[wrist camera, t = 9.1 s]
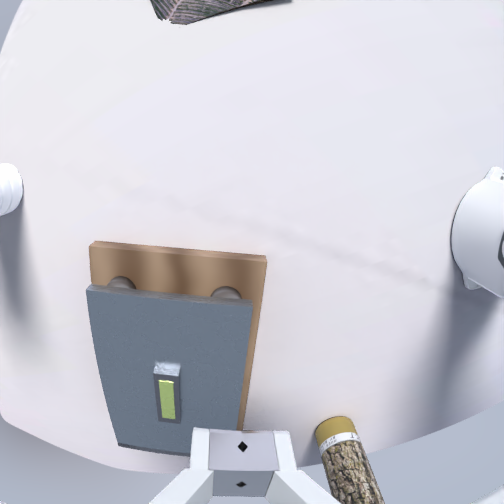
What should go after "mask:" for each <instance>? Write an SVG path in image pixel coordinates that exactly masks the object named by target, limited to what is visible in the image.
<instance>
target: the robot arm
mask: <svg viewBox="0 0 504 504" xmlns="http://www.w3.org/2000/svg"><path fill="white" fill-rule="evenodd" d="M500 178H501V179H500ZM452 251H453V255H454V259H455V261H456V263H457V265H458V266H459V268H460V269H461V271H462V273H463V280H464V285H465V287H466V288H468V289H470V290H474V289H478V288H482V287H483V288H485V289H487V290H488V291H490V292H492V293H493V294H495V295H497V296H498V297H500V298H504V171H503V170H502V169H501V168H499V167H496V166H493V167H492V168H491V169H490V171H489V172H488V174H487V175H486V177H485V178H484V179H483V180H482V181H480V182H479V183H477V184H475V185H474V186H473V187H472V188H471V189H470V190H469V191H468V192H467V193H466V195H465V196H464V198H463V199H462V201H461V203H460V205H459V207H458V210H457V212H456V215H455V219H454V223H453V228H452ZM209 435H210V438H209ZM212 496H248V497H265V498H266V500H267V501H268V502H269V503H270V504H341V503H340V502H339V501H337V500H336V499H335V498H334V497H332V496H331V495H330V494H329V493H328V492H327V491H325V490H324V489H323V488H322V487H321V486H319V485H318V484H317V483H316V482H315V481H314V480H312V478H310V477H309V476H308V475H307V474H306V473H305V472H304V471H303V470H297V466H296V461H295V457H294V452H293V447H292V442H291V438H290V433H289V432H288V431H271V430H270V431H243V430H241V431H232V430H219V429H208V428H196V427H194V428H193V433H192V444H191V456H190V468H184V469H183V470H182V471H181V472H180V473H179V474H178V475H177V477H175V478H174V479H173V480H172V481H171V482H170V484H168V485H167V486H166V487H165V488H164V489H163V490H162V491H161V492H160V493H159V494H158V495H157V496H156V497H155V498H154V499H153V500H152V501H151V502H150V503H148V504H207V503H208V502H209V501H210V499H211V498H212ZM0 504H6V503H4V502H2V501H1V500H0ZM470 504H504V485H502V486H501V487H499V488H498V489H496V490H494V491H492V492H491V493H489V494H487V495H485V496H483V497H482V498H480V499H478V500H476V501H474V502H472V503H470Z"/></svg>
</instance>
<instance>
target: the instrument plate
mask: <svg viewBox="0 0 504 504" xmlns="http://www.w3.org/2000/svg"><path fill="white" fill-rule="evenodd" d="M86 295H87V303H88V311H89V318H90V325H91V331H92V337H93V343H94V349H95V354H96V359H97V364H98V369H99V374H100V378H101V383H102V387H103V391H104V395H105V399H106V403H107V407H108V411H109V414H110V418H111V422H112V425H113V428H114V432H115V435H116V438H117V442H118V446H121V447H126V448H131V449H137V450H142V451H148V452H155V453H162V454H169V455H178V456H187V457H190V456H191V444H192V433H193V428H194V427H196V428H208V429H219V430H232V431H236V429H237V422H238V415H239V408H240V400H241V393H242V386H243V378H244V371H245V364H246V356H247V349H248V341H249V334H250V326H251V318H252V311H253V303H252V300H247V299H234V298H221V297H209V296H198V295H187V294H177V293H167V292H157V291H148V290H139V289H130V288H121V287H113V286H105V285H97V284H91V285H90V286H89V287H88V288H87V289H86ZM209 438H210V435H209Z"/></svg>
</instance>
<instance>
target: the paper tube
mask: <svg viewBox="0 0 504 504" xmlns="http://www.w3.org/2000/svg"><path fill="white" fill-rule="evenodd" d="M315 436H316V439H317V443H318V447H319V451H320V454H321V458H322V462H323V465H324V469H325V472H326V476H327V480H328V483H329V487H330V490H331V494H332V497H334V498H335V499H336V500H337V501H339V502H340V503H341V504H385V503H384V500H383V497H382V495H381V492H380V490H379V487H378V484H377V482H376V479H375V477H374V474H373V472H372V469H371V466H370V464H369V462H368V459H367V456H366V454H365V451H364V449H363V446H362V444H361V441H360V439H359V436H358V434H357V432H356V429H355V427H354V424H353V422H352V420H351V419H349V418H347V417H343V416H339V417H333V418H330V419H328V420H326V421H324V422H323V423H321V424H320V425H319V426H318V428H317V430H316V432H315Z"/></svg>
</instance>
